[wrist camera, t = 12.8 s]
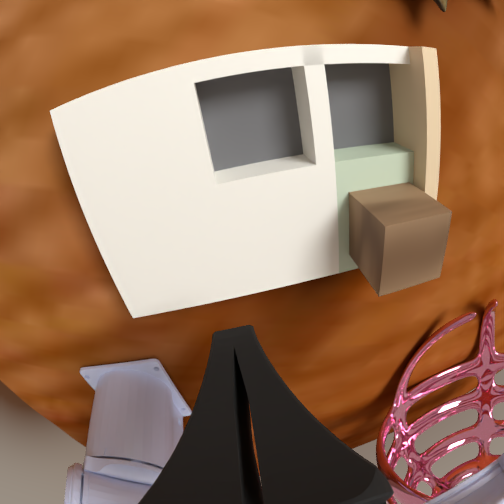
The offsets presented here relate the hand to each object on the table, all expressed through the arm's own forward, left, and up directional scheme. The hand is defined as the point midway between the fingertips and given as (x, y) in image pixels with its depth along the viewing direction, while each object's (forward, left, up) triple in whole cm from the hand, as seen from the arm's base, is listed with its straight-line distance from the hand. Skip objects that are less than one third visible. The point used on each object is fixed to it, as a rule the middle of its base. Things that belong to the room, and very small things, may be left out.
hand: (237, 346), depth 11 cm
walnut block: (0, -9, -7) cm, 11 cm away
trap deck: (+3, -3, -9) cm, 10 cm away
